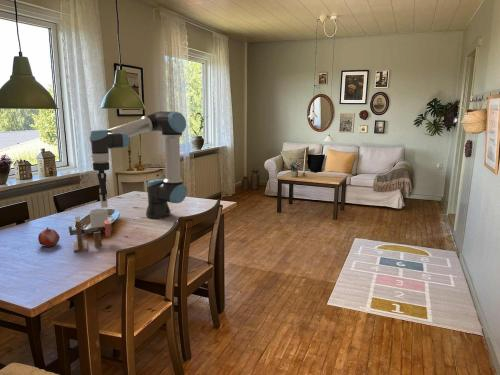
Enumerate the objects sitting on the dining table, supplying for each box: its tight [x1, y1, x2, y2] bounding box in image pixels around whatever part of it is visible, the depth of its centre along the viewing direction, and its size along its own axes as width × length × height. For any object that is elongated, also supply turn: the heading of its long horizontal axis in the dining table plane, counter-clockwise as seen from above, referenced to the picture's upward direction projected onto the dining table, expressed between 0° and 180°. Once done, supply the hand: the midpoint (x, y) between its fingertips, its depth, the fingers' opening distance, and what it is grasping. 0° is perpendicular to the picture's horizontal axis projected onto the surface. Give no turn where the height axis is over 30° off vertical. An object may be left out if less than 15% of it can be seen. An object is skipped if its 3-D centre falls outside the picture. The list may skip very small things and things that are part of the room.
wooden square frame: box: [73, 216, 89, 253], centre depth 179 cm, size 6×12×14 cm, turn 25°
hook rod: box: [68, 219, 113, 237], centre depth 182 cm, size 19×6×7 cm, turn 115°
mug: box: [89, 208, 109, 228], centre depth 206 cm, size 12×9×11 cm
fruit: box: [37, 226, 60, 248], centre depth 182 cm, size 9×10×10 cm
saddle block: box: [93, 232, 102, 248], centre depth 184 cm, size 3×5×6 cm, turn 25°
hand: (103, 204), depth 183 cm, fingers open, 13 cm apart
